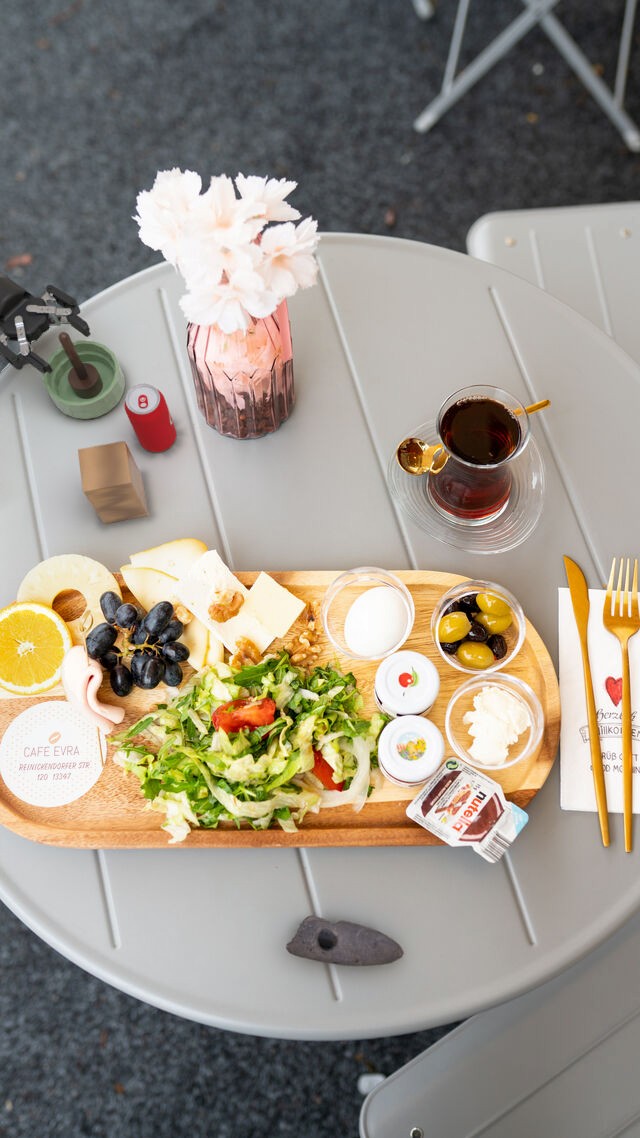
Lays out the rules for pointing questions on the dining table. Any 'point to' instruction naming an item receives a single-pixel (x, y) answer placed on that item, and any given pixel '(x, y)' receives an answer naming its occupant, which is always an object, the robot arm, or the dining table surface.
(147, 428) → the beverage can
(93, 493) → the wooden square block
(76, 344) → the bowl
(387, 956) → the perforated stone tool
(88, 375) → the brown handled round part
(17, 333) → the robot arm
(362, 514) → the dining table surface
